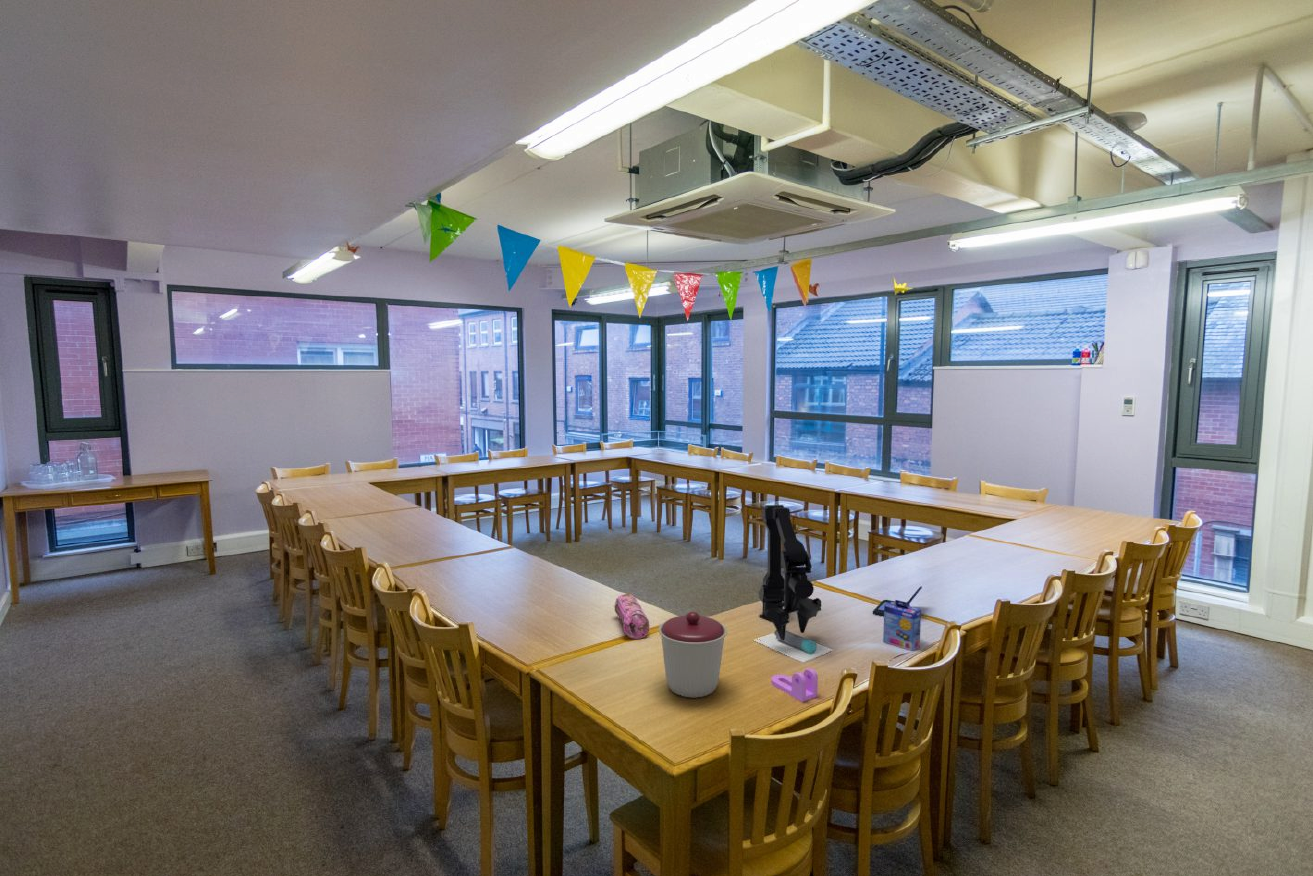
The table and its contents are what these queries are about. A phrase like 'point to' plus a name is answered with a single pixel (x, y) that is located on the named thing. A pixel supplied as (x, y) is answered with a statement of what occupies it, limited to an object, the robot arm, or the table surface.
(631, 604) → the pencil case
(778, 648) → the paper sheet
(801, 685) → the bracket
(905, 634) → the ink cartridge box
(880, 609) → the handheld game console
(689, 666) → the canister
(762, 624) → the table surface
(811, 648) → the marker
